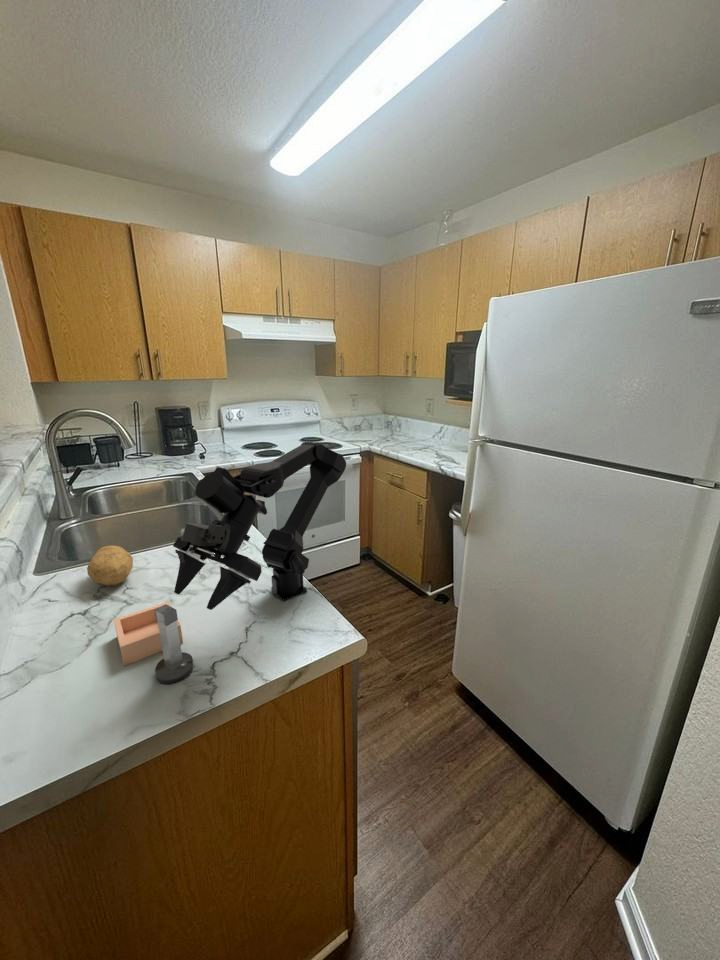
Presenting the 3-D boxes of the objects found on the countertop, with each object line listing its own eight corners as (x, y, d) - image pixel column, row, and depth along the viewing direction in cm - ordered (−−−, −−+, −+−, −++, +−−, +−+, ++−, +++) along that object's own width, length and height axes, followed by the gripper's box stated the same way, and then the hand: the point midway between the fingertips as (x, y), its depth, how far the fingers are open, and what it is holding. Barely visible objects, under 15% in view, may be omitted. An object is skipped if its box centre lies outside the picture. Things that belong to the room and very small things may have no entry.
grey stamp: (180, 654, 72) (171, 595, 68) (200, 667, 69) (192, 606, 65) (148, 675, 67) (137, 613, 64) (169, 690, 64) (158, 625, 61)
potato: (89, 600, 89) (82, 569, 87) (91, 574, 100) (85, 546, 98) (137, 588, 94) (132, 558, 92) (134, 565, 105) (129, 538, 103)
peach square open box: (171, 617, 83) (168, 601, 82) (183, 642, 75) (180, 625, 74) (117, 636, 77) (113, 619, 76) (124, 665, 69) (120, 647, 68)
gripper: (175, 495, 73) (126, 572, 67) (244, 513, 64) (193, 604, 58) (214, 521, 82) (173, 591, 76) (279, 540, 73) (238, 622, 66)
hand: (192, 601), depth 69 cm, fingers open, 9 cm apart
